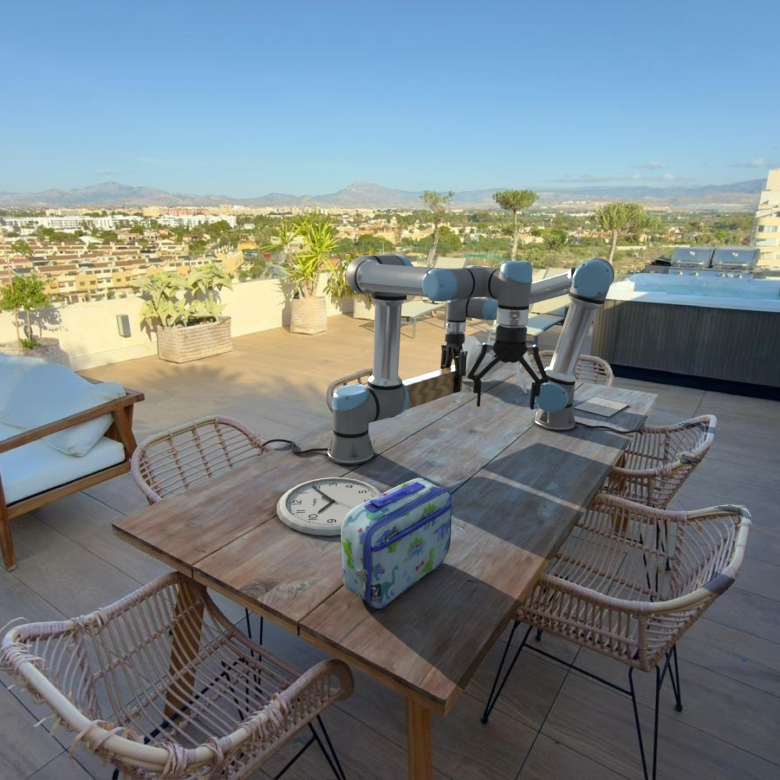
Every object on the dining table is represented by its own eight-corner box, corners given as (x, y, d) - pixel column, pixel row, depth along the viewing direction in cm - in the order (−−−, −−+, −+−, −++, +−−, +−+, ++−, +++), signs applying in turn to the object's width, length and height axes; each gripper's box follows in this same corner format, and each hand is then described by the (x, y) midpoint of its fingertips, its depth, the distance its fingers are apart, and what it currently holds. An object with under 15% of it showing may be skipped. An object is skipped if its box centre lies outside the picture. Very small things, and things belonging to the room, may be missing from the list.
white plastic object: (472, 423, 260) (450, 400, 235) (454, 348, 282) (432, 320, 258) (544, 398, 248) (529, 371, 223) (519, 323, 270) (503, 291, 245)
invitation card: (608, 416, 214) (573, 407, 224) (608, 416, 214) (573, 408, 224) (628, 404, 229) (594, 396, 238) (628, 405, 229) (594, 397, 238)
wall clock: (392, 527, 129) (268, 531, 127) (391, 533, 130) (269, 537, 127) (383, 473, 158) (282, 475, 155) (383, 478, 158) (282, 480, 156)
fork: (423, 514, 139) (423, 507, 138) (438, 487, 153) (439, 481, 152) (432, 516, 138) (433, 509, 137) (447, 489, 152) (448, 483, 152)
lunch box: (370, 622, 101) (370, 527, 94) (335, 595, 108) (333, 505, 102) (455, 565, 118) (460, 481, 112) (420, 544, 125) (423, 465, 119)
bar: (452, 387, 210) (453, 365, 207) (462, 390, 207) (463, 368, 204) (395, 406, 189) (395, 382, 186) (404, 410, 185) (405, 385, 182)
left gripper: (461, 326, 127) (456, 408, 133) (566, 330, 124) (556, 414, 130) (460, 320, 134) (456, 399, 140) (560, 324, 131) (551, 404, 138)
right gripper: (432, 328, 205) (430, 385, 212) (462, 337, 190) (458, 398, 197) (448, 327, 209) (445, 382, 216) (478, 335, 193) (474, 395, 200)
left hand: (504, 406), depth 135 cm, fingers open, 13 cm apart
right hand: (451, 390), depth 206 cm, fingers closed on bar, 6 cm apart
